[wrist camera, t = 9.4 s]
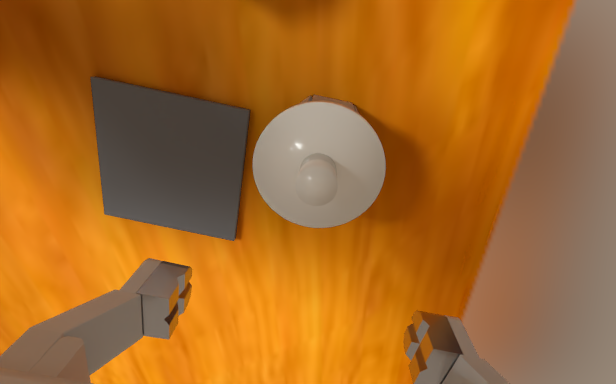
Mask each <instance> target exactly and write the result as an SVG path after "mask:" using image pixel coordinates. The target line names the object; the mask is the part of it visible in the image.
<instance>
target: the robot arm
mask: <svg viewBox="0 0 616 384" xmlns="http://www.w3.org/2000/svg"><path fill="white" fill-rule="evenodd" d="M191 277H192V268H191V267H188V266H184V265H179V264H175V263H170V262H166V261H159V260H155V259H150V258H149V259H147V260H145V261H144V262H143V263H142V264H141V266H140V267H139V268H138V269H137V270H136V271H135V273H134V274H133V275H132V276H131V277H130V279H129V280H128V281H127V282H126V283H125V284H124V286H123V287H122V288H121V289H120V290H113V291H111V292H109V293H106V294H104V295H102V296H100V297H98V298H95V299H93V300H91V301H89V302H86V303H84V304H82V305H80V306H77V307H75V308H73V309H71V310H69V311H66V312H64V313H62V314H60V315H57V316H55V317H53V318H51V319H48V320H46V321H44V322H42V323H39V324H37V325H35V326H33V327H31V328H29V329H28V330H27V331H26V332H25V333H24V334H23V335H22V336H21V337H20V338H19V339H18V340H17V341H16V342H15V343H14V344H13V345H11V346H10V347H9V348H8V349H7V350H6V351H5V352H4V353H3V354H2V355H1V356H0V384H92V383H91V382H90V375H91V374H92V373H94V372H95V371H96V370H98V369H99V368H101V367H102V366H103V365H105V364H106V363H108V362H109V361H110V360H112V359H113V358H115V357H116V356H117V355H119V354H120V353H121V352H123V351H124V350H126V349H127V348H128V347H130V346H131V345H133V344H134V343H135V342H137V341H138V340H139V339H141V338H142V337H143V336H150V337H156V338H163V339H170V337H171V335H172V333H173V331H174V330H175V328H176V326H177V324H178V316H179V315H180V314H182V313H184V311H185V309H186V307H187V305H188V302H189V299H190V295H191V289H192V285H191V284H190V282H189V280H190V279H191ZM412 321H413V324H411V325H409V326H407V329H406V331H405V333H404V349H405V354H406V355H407V356H408V357H409V358H410V360H411V362H410V364H409V369H410V373H411V377H412V381H413V384H510V383H509V382H508V381H507V380H506V379H505V378H504V377H503V376H501V375H500V374H499V373H498V372H497V371H496V370H495V369H494V368H493V367H492V366H490V364H488V363H487V362H486V361H485V360H484V359H480V358H479V356H478V354H477V352H476V350H475V348H474V346H473V344H472V342H471V340H470V338H469V336H468V334H467V332H466V330H465V328H464V326H463V324H462V322H461V320H460V319H459V318H457V317H451V316H446V315H444V316H443V315H439V314H434V313H428V312H423V311H416V312H414V314H413V316H412Z"/></svg>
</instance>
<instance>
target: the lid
mask: <svg viewBox="0 0 616 384" xmlns="http://www.w3.org/2000/svg"><path fill="white" fill-rule="evenodd" d="M385 171H386V162H385V155H384V150H383V147H382V144H381V142H380V140H379V138H378V136H377V134H376V132H375V131H374V129H373V128H372V126H371V125H370V124H369V123H368V122H367V120H366V119H365V118H364V117H362V116H361V115H360V114H359V113H357V112H356V111H354V110H352V109H351V108H349V107H346V106H344V105H342V104H338V103H335V102H329V101H309V102H303V103H300V104H296V105H294V106H292V107H289V108H287V109H286V110H284V111H282V112H281V113H280V114H278V115H277V116H276V117H275V118H274V119H273V120H272V121H271V122H270V123H269V124H268V125H267V126H266V128H265V129H264V131H263V132H262V133H261V135H260V137H259V139H258V141H257V144H256V147H255V150H254V155H253V175H254V179H255V183H256V186H257V188H258V191H259V192H260V194H261V196H262V198H263V199H264V200H265V202H266V203H267V204H268V205H269V206H270V208H271V209H272V210H274V211H275V212H276V213H277V214H279V215H280V216H282V217H283V218H285V219H287V220H288V221H290V222H293V223H295V224H298V225H302V226H306V227H312V228H327V227H334V226H338V225H341V224H345V223H347V222H349V221H351V220H353V219H355V218H357V217H358V216H360V215H361V214H362V213H363V212H365V211H366V210H367V209H368V208H369V207H370V206H371V205H372V203H373V202H374V201H375V199H376V198H377V196H378V194H379V192H380V190H381V188H382V185H383V182H384V178H385Z"/></svg>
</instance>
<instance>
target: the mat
mask: <svg viewBox="0 0 616 384" xmlns="http://www.w3.org/2000/svg"><path fill="white" fill-rule="evenodd" d="M91 87H92V97H93V107H94V116H95V126H96V136H97V146H98V155H99V165H100V175H101V185H102V194H103V204H104V214H106V215H110V216H115V217H120V218H125V219H130V220H135V221H140V222H144V223H149V224H154V225H159V226H164V227H169V228H174V229H178V230H183V231H188V232H193V233H198V234H203V235H207V236H212V237H217V238H222V239H227V240H232V241H234V240H235V238H236V231H237V222H238V213H239V205H240V196H241V187H242V179H243V170H244V161H245V152H246V144H247V135H248V126H249V118H250V110H249V109H244V108H240V107H235V106H230V105H226V104H221V103H216V102H212V101H207V100H202V99H198V98H193V97H189V96H184V95H179V94H175V93H170V92H165V91H161V90H156V89H151V88H147V87H142V86H137V85H133V84H128V83H123V82H119V81H114V80H109V79H105V78H100V77H96V76H95V77H91Z"/></svg>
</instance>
